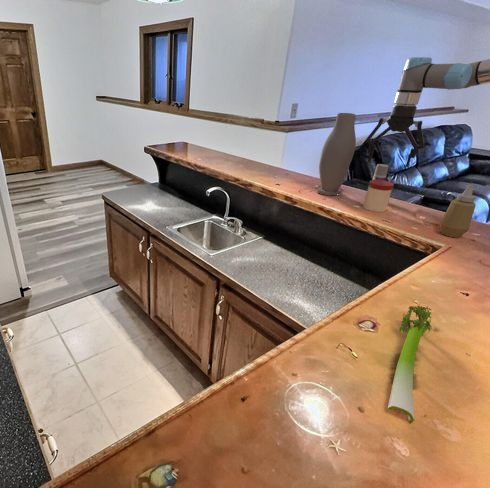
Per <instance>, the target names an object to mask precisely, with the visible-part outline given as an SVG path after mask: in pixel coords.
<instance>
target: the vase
mask: <svg viewBox="0 0 490 488" xmlns="http://www.w3.org/2000/svg"><path fill="white" fill-rule="evenodd" d="M356 117H357V116H356V114H355V113H352V112H338V113H337V114H336V119H335V123H334V125H333V128H332V130H331V132H330V133H329V135H328V136H327V138H326V139H325V141H324V143H323V147H322V149H321V154H320V159H319V165H318V174H319V181H320V186H319V187H317V189H316V193H317V192H318V194H319V193H320V195H323V194H324V195H323V196H330V195H336V196H338V195H337V194H340V193H341V194H342V189H340V188H342V185H343V183H344V181H345V178H346V176H347V173H348V171H349V168H350V166H351V163H352V160H353V157H354V154H355V152H356V146H357V137H356V136H357V135H356V130H355V129H356V128H355V126H356V125H355V124H356V123H355V122H356ZM341 194H340V195H341Z"/></svg>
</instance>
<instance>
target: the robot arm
mask: <svg viewBox="0 0 490 488" xmlns="http://www.w3.org/2000/svg"><path fill="white" fill-rule="evenodd" d="M405 61H406V62H405V64H404V67H403V70H402V73H401V77H400V81H399V84H398V88H397V91H396V95H395V97H394V101H393V104H394V105H392V108H391V111H390V115H389V117H388V118H384V117H380V118H379V120H378V122H377V125H376V126H375V127H374V128H373V130H372V131H371V132H370V134H369V135H368V136H367V137H366V139H365V140H364V142H365V143H366V144H368V148H367V153H368V154H369V156H368V159H367V162H368V163H370V162H371V161H372V158H373V155H374V151H375V147H376V143H377V141H378V140H380V139H382V138H383V136H385V135H386V134H387V133H389V132H390V131H391V132H394V133H395V132H398V133H405V134H406V136H407V138H408V140H409V142H410V144H411V146H412V147H411V150H410V152H409V155H408V158H407V161H406V164H405V168H408V167H409V165H410V162H411V159H414V158H416V155H417V152H418V150H420V149H424V148H425V140H424V133H423V128H422V126H423V120H414V118H415V115H416V111H417V109H418V107H417V105H419V102H420V100H421V96H422V92H423V90H424V89H437V90H438V89H439V90H462V89H468V88H470V87H475V86H480V85H486V84H490V58H489V59H484V60H480V61H474V62H470V63H469V62H468V63H462V62H459V63H458V62H457V63H433V62H432V61H433V58H432V57H431V56H430V57H428V56H427V57H426V56H422V57H421V56H417V57H415V56H414V57H413V56H412V57H409V58H407V60H405ZM384 124H387V125H388V127H387V128H385V129H384V130H383V131H382V132H380V133H379V134H378V135H377V136H375V137H374V135H375V134H376V133H377V132H378V130H379V129H380V128H381V126H382V125H384ZM413 125H414V127H415V128H416V131H417V137H418V142H419V144H418V143H417V141H416V139H415V137H414V136H413V134H412V132H411V129H410V128H411V126H413ZM373 137H374V138H373ZM372 138H373V139H372Z"/></svg>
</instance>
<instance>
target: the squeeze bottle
mask: <svg viewBox="0 0 490 488" xmlns="http://www.w3.org/2000/svg"><path fill="white" fill-rule="evenodd" d="M473 191H474V184H471V183H470V184H469V183H468V185H467V186H466V188H465V190H464V191H463V192H462V193H461V192H460V193H457V196H456V198H454V199H452V200H451V201H450V204H449V206H448V207H447V209H446V211H445V212H444V215H443V217H442V218H441V220H440V224H439V225H440V227H439V229H440V231H439V232H440V234H442V235H444V236H446V237H450V238H454V239H455V238H461V237H462V236H464V235H465V234H466V232H467V231H468V230H469V229H470V227H471V222H472V219H473V215H474V213H475V209H476V205H477V204H476V203H475V199H476V196H475V195H474V194H473Z"/></svg>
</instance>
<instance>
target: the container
mask: <svg viewBox="0 0 490 488" xmlns="http://www.w3.org/2000/svg"><path fill="white" fill-rule="evenodd" d="M389 168H390V165H389V164H384V163H377V165H376V167H375V170H374V174H373V176H372V180H384V181H386V179H387V175H388V171H389Z"/></svg>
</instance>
